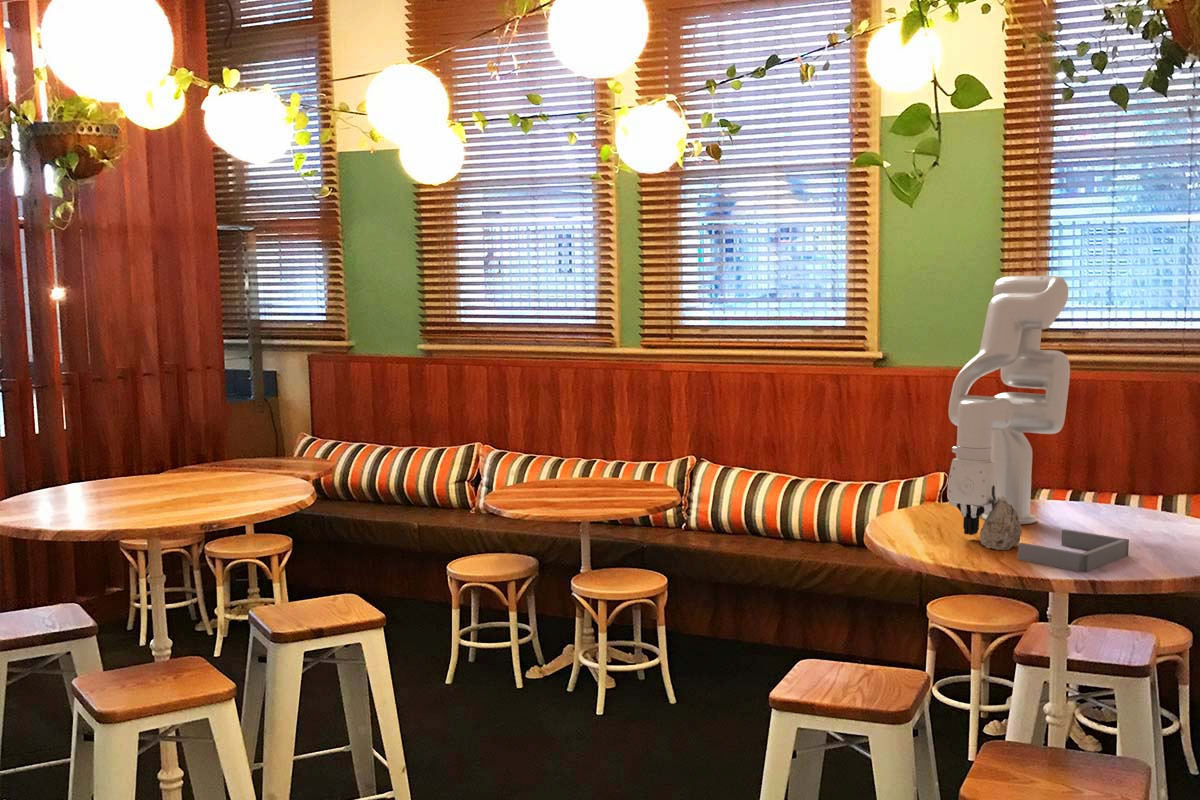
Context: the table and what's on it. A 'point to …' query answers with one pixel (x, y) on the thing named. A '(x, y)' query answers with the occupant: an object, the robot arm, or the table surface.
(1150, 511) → the table surface
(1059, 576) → the table surface
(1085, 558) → the frame
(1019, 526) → the rock
